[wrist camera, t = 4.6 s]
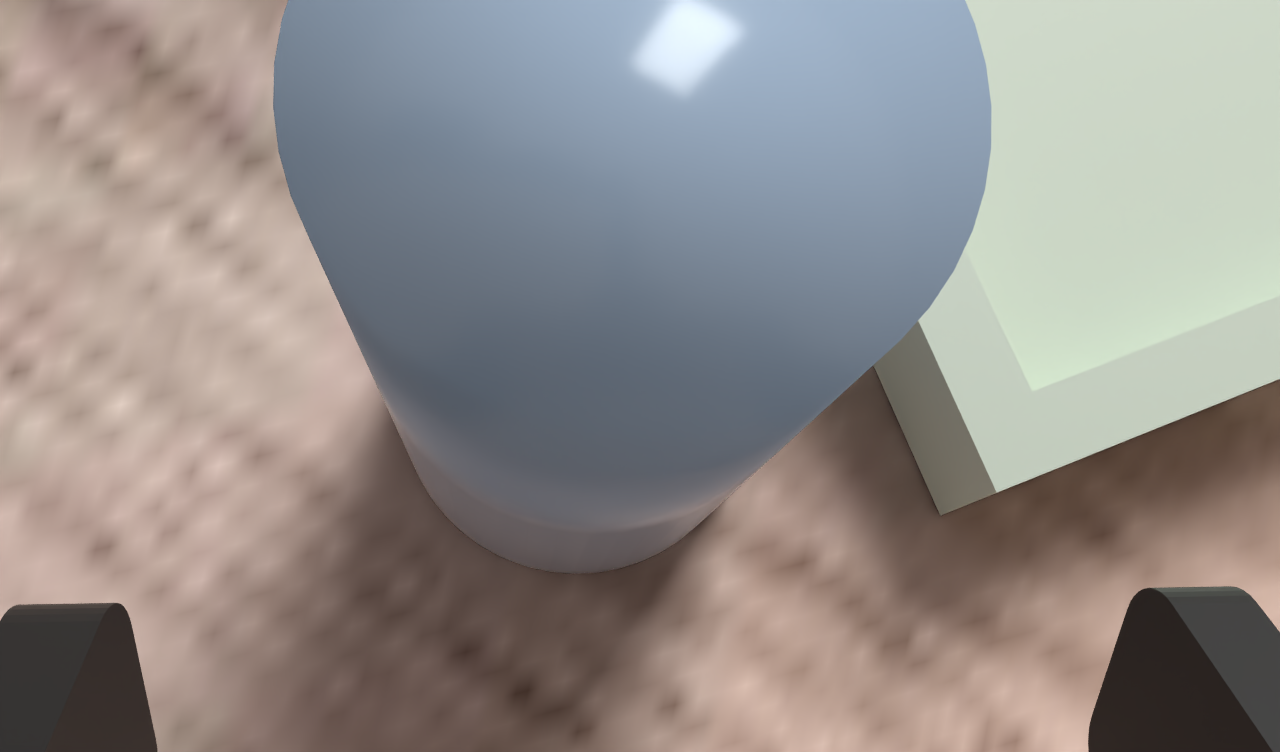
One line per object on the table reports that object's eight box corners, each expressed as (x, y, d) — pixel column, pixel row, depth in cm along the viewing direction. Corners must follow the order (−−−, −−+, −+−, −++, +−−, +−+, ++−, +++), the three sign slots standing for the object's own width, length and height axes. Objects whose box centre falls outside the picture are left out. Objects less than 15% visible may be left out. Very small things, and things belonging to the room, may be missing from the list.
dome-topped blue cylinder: (471, 627, 19) (416, 551, 9) (354, 299, 20) (180, -121, 10) (801, 498, 20) (1109, 292, 10) (672, 193, 22) (823, -291, 11)
